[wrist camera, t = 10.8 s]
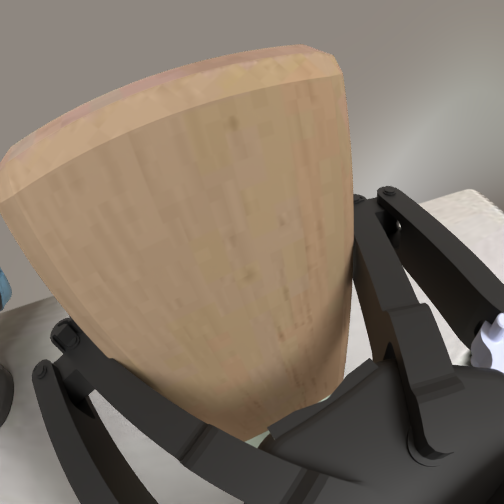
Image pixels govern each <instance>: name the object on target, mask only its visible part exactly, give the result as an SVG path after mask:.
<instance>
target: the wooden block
mask: <svg viewBox="0 0 504 504" xmlns="http://www.w3.org/2000/svg"><path fill="white" fill-rule="evenodd" d="M347 111H348V110H347V102H346V94H345V86H344V79H343V73H342V71H341V69H340V67H339V65H338V64H337V62H336V59H335V58H334V56H333V55H331V54H328V53H325V52H322V51H320V50H317V49H314V48H312V47H309V46H306V45H303V44H298V45H289V46H279V47H271V48H264V49H257V50H251V51H245V52H240V53H235V54H229V55H225V56H220V57H215V58H211V59H207V60H203V61H199V62H195V63H192V64H188V65H184V66H181V67H177V68H174V69H171V70H168V71H164V72H162V73H158V74H155V75H152V76H149V77H147V78H144V79H141V80H138V81H136V82H133V83H131V84H128V85H126V86H123V87H120V88H118V89H116V90H113V91H111V92H109V93H106V94H104V95H102V96H100V97H97V98H95V99H93V100H91V101H89V102H87V103H85V104H83V105H81V106H79V107H77V108H75V109H73V110H71V111H69V112H67V113H66V114H63V115H62V116H60V117H58V118H56V119H54V120H53V121H51V122H49V123H47V124H46V125H44V126H42V127H41V128H39V129H37V130H36V131H34V132H33V133H31V134H30V135H28V136H26V137H25V138H23V139H22V140H20V141H19V142H17V143H16V144H14V145H13V146H12V147H10V149H9V150H8V152H7V153H6V155H5V156H4V158H3V159H2V161H1V163H0V213H1V215H2V217H3V219H4V221H5V222H6V224H7V226H8V228H9V229H10V231H11V233H12V234H13V236H14V238H15V240H16V241H17V243H18V244H19V246H20V248H21V249H22V251H23V252H24V254H25V256H26V257H27V259H28V260H29V262H30V263H31V265H32V266H33V268H34V269H35V270H36V272H37V273H38V275H39V276H40V278H41V279H42V280H43V282H44V283H45V284H46V286H47V287H48V288H49V290H50V291H51V293H52V294H53V295H54V296H55V298H56V299H57V300H58V302H59V303H60V304H61V305H62V307H63V308H64V309H65V310H66V312H67V313H68V314H69V315H70V316H71V318H72V319H73V320H74V321H75V322H76V323H77V325H78V326H79V327H80V328H81V329H82V330H83V331H84V333H85V334H86V335H87V336H88V337H89V338H90V339H91V340H92V341H93V342H94V344H95V345H96V346H97V347H98V348H99V349H100V350H101V351H102V352H103V353H104V354H105V355H106V356H107V357H108V358H113V359H115V360H116V361H117V362H118V363H119V364H121V365H122V366H123V367H124V368H126V369H127V370H128V371H130V372H131V373H132V374H133V375H135V376H136V377H137V378H139V379H140V380H141V381H143V382H144V383H145V384H147V385H148V386H150V387H151V388H152V389H154V390H155V391H157V392H158V393H160V394H161V395H162V396H164V397H165V398H167V399H168V400H170V401H171V402H173V403H174V404H176V405H177V406H179V407H180V408H182V409H184V410H185V411H187V412H188V413H190V414H192V415H193V416H195V417H196V418H198V419H200V420H201V421H203V422H205V423H207V424H211V425H213V426H215V427H217V428H219V429H221V430H223V431H224V432H226V433H228V434H230V435H232V436H234V437H236V438H238V439H240V440H242V441H244V442H245V441H248V440H250V439H252V438H254V437H256V436H258V435H260V434H262V433H264V432H266V431H268V429H267V427H268V426H270V425H272V424H274V423H275V422H277V421H279V420H280V419H282V418H284V417H285V416H287V415H289V414H290V413H292V412H294V411H296V410H299V409H302V408H305V407H308V406H310V405H313V404H316V403H318V402H320V401H321V400H323V399H324V398H326V397H328V396H329V395H331V394H332V393H333V392H334V390H335V389H336V388H337V387H338V386H339V385H340V383H341V382H342V381H343V377H344V369H345V362H346V353H347V344H348V334H349V323H350V311H351V296H352V278H353V246H354V206H353V175H352V158H351V143H350V131H349V121H348V112H347Z"/></svg>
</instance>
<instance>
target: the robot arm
mask: <svg viewBox="0 0 504 504" xmlns="http://www.w3.org/2000/svg"><path fill="white" fill-rule="evenodd" d="M353 206H354V246H353V281H354V285H355V288H356V292H357V295H358V299H359V303H360V306H361V310H362V314H363V317H364V321H365V325H366V329H367V333H368V337H369V342H370V346H371V350H372V357H373V361H372V360H371V359H370V358H369V359H368V360H366V361H365V362H364V363H363V364H361V365H360V366H359V367H357V368H356V369H355V370H353V371H352V372H351V373H349V374H348V375H347V376H346V377H345V379H344V380H343V381H342V382H341V383H340V385H339V386H338V387H337V388H336V389H335V390H334V392H333V393H332V394H331V395H330V396H329V397H328V398H327V399H326V400H324V401H321V402H318V403H316V404H313V405H310V406H308V407H305V408H302V409H299V410H296V411H294V412H292V413H290V414H289V415H287V416H285V417H284V418H282V419H280V420H279V421H277V422H275V423H274V424H272V425H270V426H268V427H267V429H268V430H269V432H270V433H271V434H268V435H267V436H266V437H265V438H264V440H263V441H262V442H261V443H260V444H259V446H258V448H256V447H254V446H252V445H250V444H248V443H246V442H244V441H242V440H240V439H238V438H236V437H234V436H232V435H230V434H228V433H226V432H224V431H223V430H221V429H219V428H217V427H215V426H213V425H211V424H207V423H205V422H203V421H201V420H200V419H198V418H196V417H195V416H193V415H192V414H190V413H188V412H187V411H185V410H184V409H182V408H180V407H179V406H177V405H176V404H174V403H173V402H171V401H170V400H168V399H167V398H165V397H164V396H162V395H161V394H160V393H158V392H157V391H155V390H154V389H152V388H151V387H150V386H148V385H147V384H145V383H144V382H143V381H141V380H140V379H139V378H137V377H136V376H135V375H133V374H132V373H131V372H130V371H128V370H127V369H126V368H124V367H123V366H122V365H121V364H119V363H118V362H117V361H116V360H115V359H113V358H108V357H107V356H106V355H105V354H104V353H103V352H102V351H101V350H100V349H99V348H98V347H97V346H96V345H95V344H94V342H93V341H92V340H91V339H90V338H89V337H88V336H87V335H86V334H85V333H84V331H83V330H82V329H81V328H80V327H79V326H78V325H77V323H76V322H75V321H74V320H73V319H72V318H71V316H70V318H65V319H63V320H61V321H59V322H58V323H57V324H56V325H55V327H54V328H53V330H52V332H51V337H50V339H51V341H52V343H53V344H54V345H55V346H56V347H57V348H58V349H59V350H60V351H61V352H62V353H63V355H62V356H61V357H60V358H59V359H58V360H57V361H56V362H54V363H51V362H50V361H49V360H47V359H46V360H42V361H40V362H39V363H38V364H37V365H36V366H35V368H34V370H33V373H32V381H33V385H34V389H35V393H36V397H37V400H38V404H39V407H40V410H41V413H42V417H43V420H44V423H45V425H46V428H47V431H48V434H49V437H50V439H51V442H52V444H53V447H54V449H55V452H56V454H57V457H58V459H59V461H60V464H61V466H62V468H63V470H64V472H65V474H66V477H67V479H68V481H69V483H70V485H71V487H72V489H73V490H74V492H75V494H76V496H77V498H78V500H79V502H80V503H81V504H158V503H157V501H156V500H155V499H154V498H153V497H152V495H151V494H150V493H149V491H148V490H147V489H146V488H145V486H144V485H143V484H142V482H141V481H140V480H139V478H138V477H137V476H136V474H135V473H134V471H133V470H132V469H131V467H130V466H129V464H128V463H127V461H126V460H125V458H124V457H123V455H122V454H121V452H120V451H119V449H118V448H117V446H116V444H115V443H114V441H113V439H112V438H111V436H110V434H109V433H108V431H107V429H106V428H105V426H104V424H103V422H102V421H101V419H100V417H99V415H98V413H97V411H96V409H95V408H94V406H93V404H92V402H91V400H90V398H89V396H88V395H89V394H90V393H91V392H92V391H93V390H94V389H96V390H97V391H98V392H99V393H100V394H101V395H102V396H103V397H104V398H105V399H106V400H107V401H108V402H109V403H110V404H111V405H112V406H113V407H114V408H115V409H116V410H117V411H119V412H120V413H121V414H122V415H123V416H124V417H125V418H126V419H127V420H129V421H130V422H131V423H132V424H133V425H134V426H135V427H137V428H138V429H139V430H140V431H141V432H143V433H144V434H145V435H146V436H148V437H149V438H150V439H151V440H153V441H154V442H155V443H156V444H158V445H159V446H160V447H162V448H163V449H164V450H166V451H167V452H168V453H170V454H171V455H173V456H174V457H175V458H177V459H178V460H179V461H180V463H181V464H182V465H184V466H185V467H186V468H188V469H189V470H191V471H192V472H194V473H195V474H197V475H198V476H200V477H201V478H203V479H205V480H206V481H208V482H209V483H211V484H213V485H214V486H216V487H218V488H220V489H221V490H223V491H225V492H227V493H228V494H230V495H232V496H234V497H236V498H238V499H240V500H241V501H243V502H244V504H504V284H503V283H502V282H501V281H500V280H499V279H498V278H497V277H496V276H495V275H494V274H493V273H492V271H491V270H490V269H489V268H488V267H487V266H486V265H485V264H484V263H483V262H482V261H481V260H480V259H479V258H478V257H477V256H476V255H475V254H474V253H473V252H472V251H471V250H470V249H469V248H468V247H467V246H465V245H464V244H463V243H462V242H461V241H460V240H459V239H458V238H457V237H456V236H455V235H454V234H452V233H451V232H450V231H449V230H448V229H447V228H446V227H445V226H443V225H442V224H441V223H440V222H439V221H438V220H436V219H435V218H434V217H433V216H432V215H430V214H429V213H428V212H427V211H426V210H424V209H423V208H422V207H421V206H420V205H418V204H417V203H416V202H414V201H413V200H412V199H411V198H409V197H408V196H407V195H405V194H404V193H403V192H402V191H400V190H399V189H397V188H394V187H391V186H386V187H382V188H379V189H378V190H377V197H376V198H372V199H366V198H365V197H363V196H361V195H357V194H353ZM399 223H400V225H401V228H400V227H399ZM402 266H403V267H404V268H405V270H406V271H407V272H408V273H409V274H410V276H411V277H412V278H413V279H414V280H415V282H416V283H417V284H418V285H419V287H420V288H421V289H422V290H423V292H424V293H425V294H426V295H427V297H428V298H429V299H430V300H431V302H432V303H433V304H434V306H435V307H436V308H437V310H438V311H439V312H440V314H441V315H442V316H443V318H444V319H445V320H446V322H447V323H448V324H449V326H450V327H451V329H452V330H453V331H454V333H455V334H456V335H457V337H458V338H459V339H460V340H461V341H462V342H463V343H464V344H465V346H466V347H467V348H468V349H470V350H471V353H472V357H471V364H472V365H473V366H474V367H470V366H459V365H452V363H451V360H450V357H449V354H448V352H447V349H446V346H445V344H444V341H443V338H442V336H441V333H440V331H439V328H438V326H437V323H436V321H435V318H434V316H433V314H432V311H431V309H430V307H429V306H428V304H426V303H422V304H420V303H419V302H418V300H417V297H416V295H415V293H414V290H413V288H412V286H411V284H410V281H409V279H408V277H407V275H406V273H405V271H404V269H403V267H402ZM11 295H12V290H11V287H10V285H9V282H8V280H7V278H6V276H5V275H4V273H3V271H2V270H1V268H0V311H1V310H3V308H4V306H5V304H6V303H7V302H8V301H9V299H10V297H11ZM12 398H13V380H12V376H11V374H10V373H9V372H8V371H7V370H6V369H5V368H4V367H3V366H2V365H0V426H1V425H2V424H3V422H4V421H5V419H6V417H7V415H8V412H9V410H10V407H11V403H12ZM272 436H273V437H272Z"/></svg>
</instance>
